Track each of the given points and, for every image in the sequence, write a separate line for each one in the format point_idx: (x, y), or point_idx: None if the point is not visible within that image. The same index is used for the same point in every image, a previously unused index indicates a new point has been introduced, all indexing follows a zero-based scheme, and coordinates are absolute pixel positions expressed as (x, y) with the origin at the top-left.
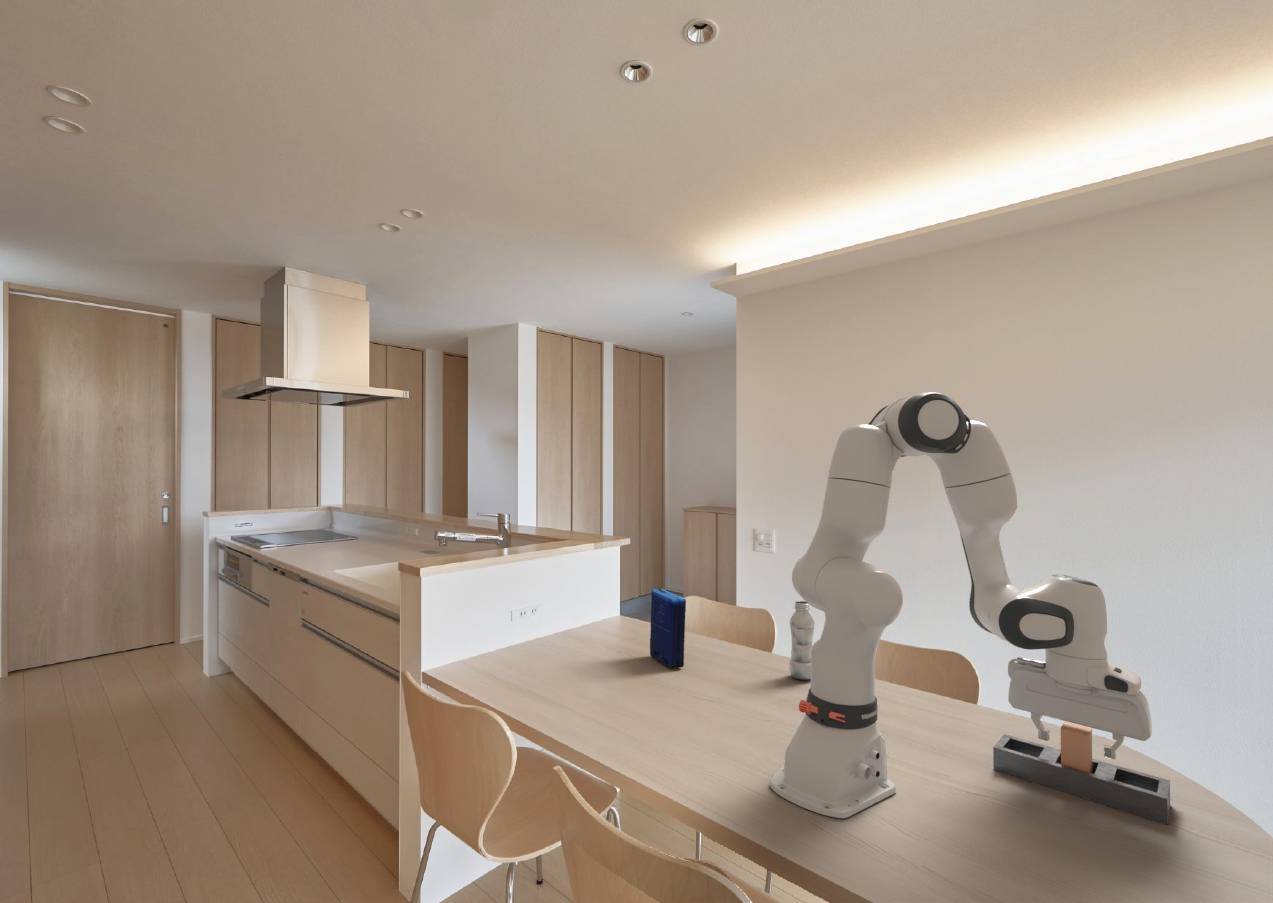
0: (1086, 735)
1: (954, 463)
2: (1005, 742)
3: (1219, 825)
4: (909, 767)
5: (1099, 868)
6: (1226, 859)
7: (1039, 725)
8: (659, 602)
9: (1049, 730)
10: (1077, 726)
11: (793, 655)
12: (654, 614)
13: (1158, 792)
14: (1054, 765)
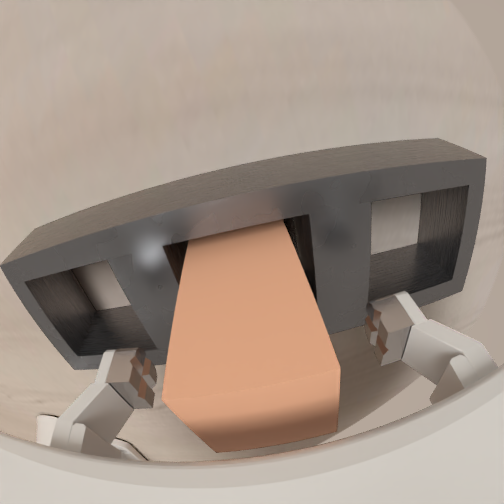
0: (325, 432)
1: None
2: (50, 324)
3: (492, 166)
4: (68, 400)
5: (339, 415)
6: (473, 287)
7: (122, 426)
8: None
9: (132, 378)
10: (258, 406)
11: None
12: None
13: (455, 275)
14: None
